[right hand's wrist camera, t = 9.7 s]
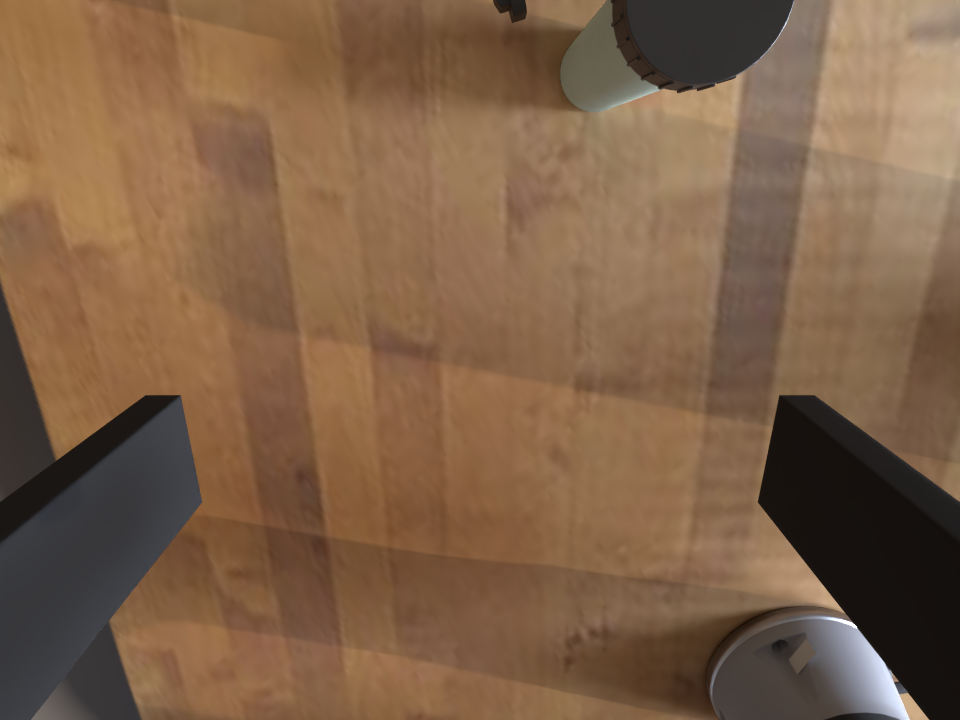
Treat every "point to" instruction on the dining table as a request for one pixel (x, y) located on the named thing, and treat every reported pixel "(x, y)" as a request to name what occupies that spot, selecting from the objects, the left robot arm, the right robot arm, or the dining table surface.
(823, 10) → the dining table surface
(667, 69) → the lid
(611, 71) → the bottle
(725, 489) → the dining table surface
